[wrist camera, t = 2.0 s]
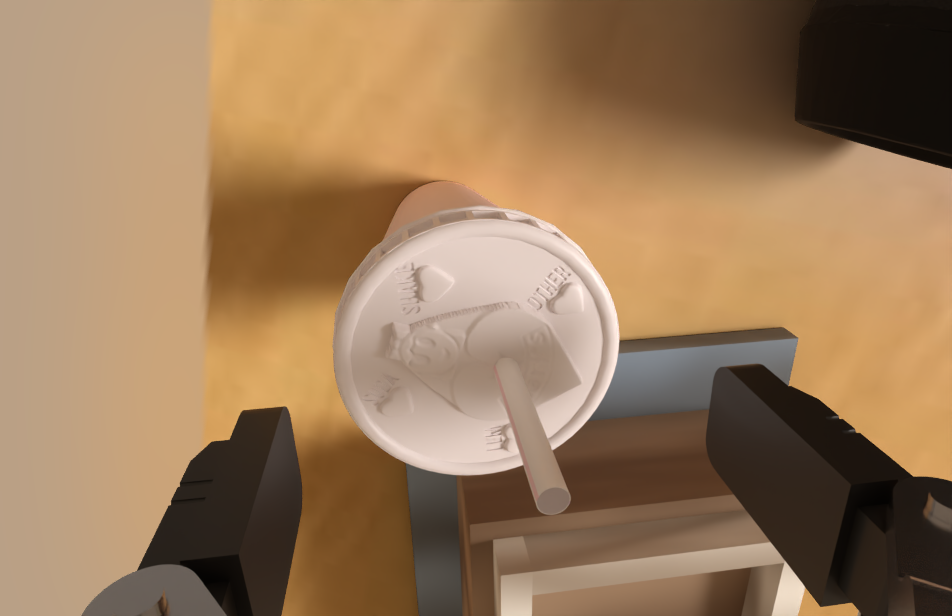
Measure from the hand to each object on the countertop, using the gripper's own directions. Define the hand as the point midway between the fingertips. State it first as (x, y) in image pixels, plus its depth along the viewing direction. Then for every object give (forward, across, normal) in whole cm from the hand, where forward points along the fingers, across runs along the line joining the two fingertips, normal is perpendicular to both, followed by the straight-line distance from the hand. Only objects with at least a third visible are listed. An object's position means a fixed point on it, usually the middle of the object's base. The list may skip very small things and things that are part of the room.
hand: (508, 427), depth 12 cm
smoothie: (+12, 0, 0) cm, 12 cm away
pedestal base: (+12, -6, +14) cm, 19 cm away
